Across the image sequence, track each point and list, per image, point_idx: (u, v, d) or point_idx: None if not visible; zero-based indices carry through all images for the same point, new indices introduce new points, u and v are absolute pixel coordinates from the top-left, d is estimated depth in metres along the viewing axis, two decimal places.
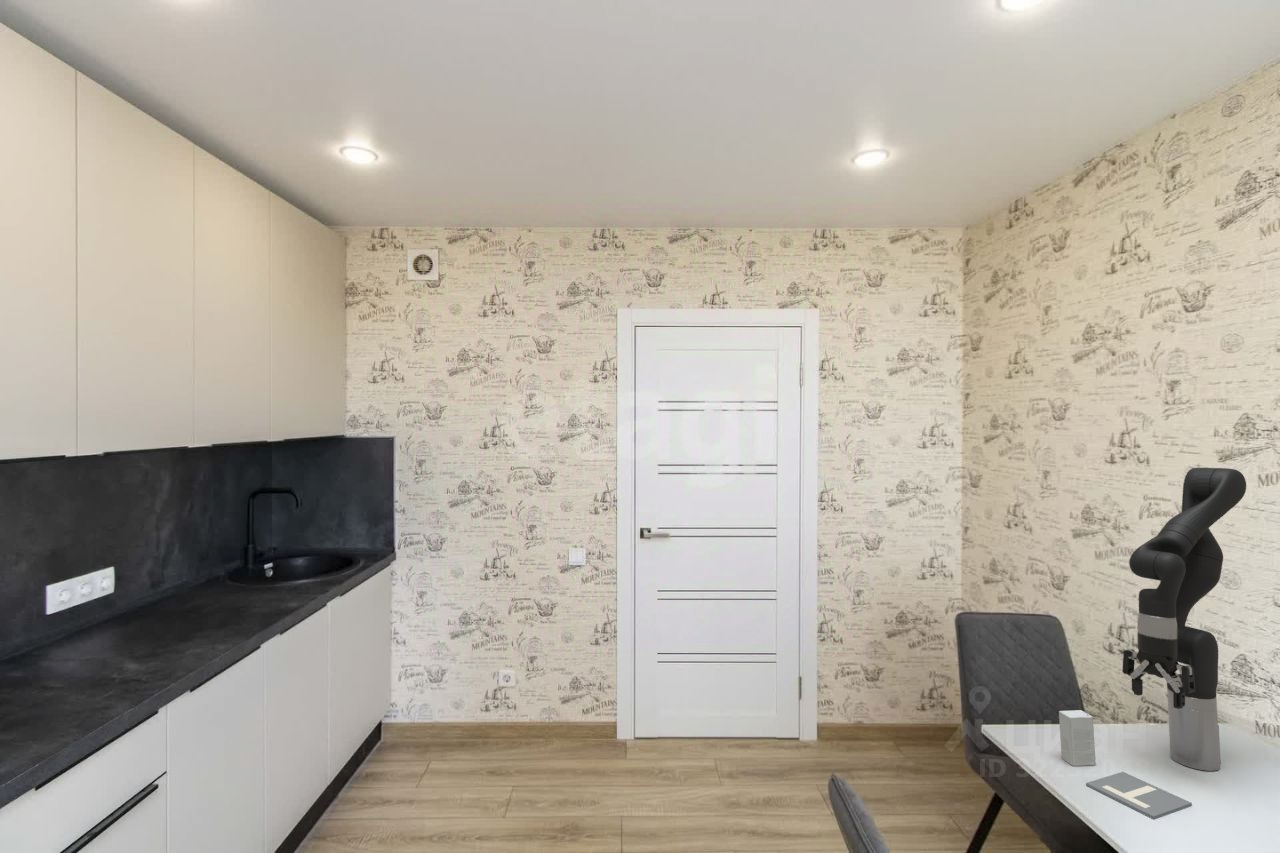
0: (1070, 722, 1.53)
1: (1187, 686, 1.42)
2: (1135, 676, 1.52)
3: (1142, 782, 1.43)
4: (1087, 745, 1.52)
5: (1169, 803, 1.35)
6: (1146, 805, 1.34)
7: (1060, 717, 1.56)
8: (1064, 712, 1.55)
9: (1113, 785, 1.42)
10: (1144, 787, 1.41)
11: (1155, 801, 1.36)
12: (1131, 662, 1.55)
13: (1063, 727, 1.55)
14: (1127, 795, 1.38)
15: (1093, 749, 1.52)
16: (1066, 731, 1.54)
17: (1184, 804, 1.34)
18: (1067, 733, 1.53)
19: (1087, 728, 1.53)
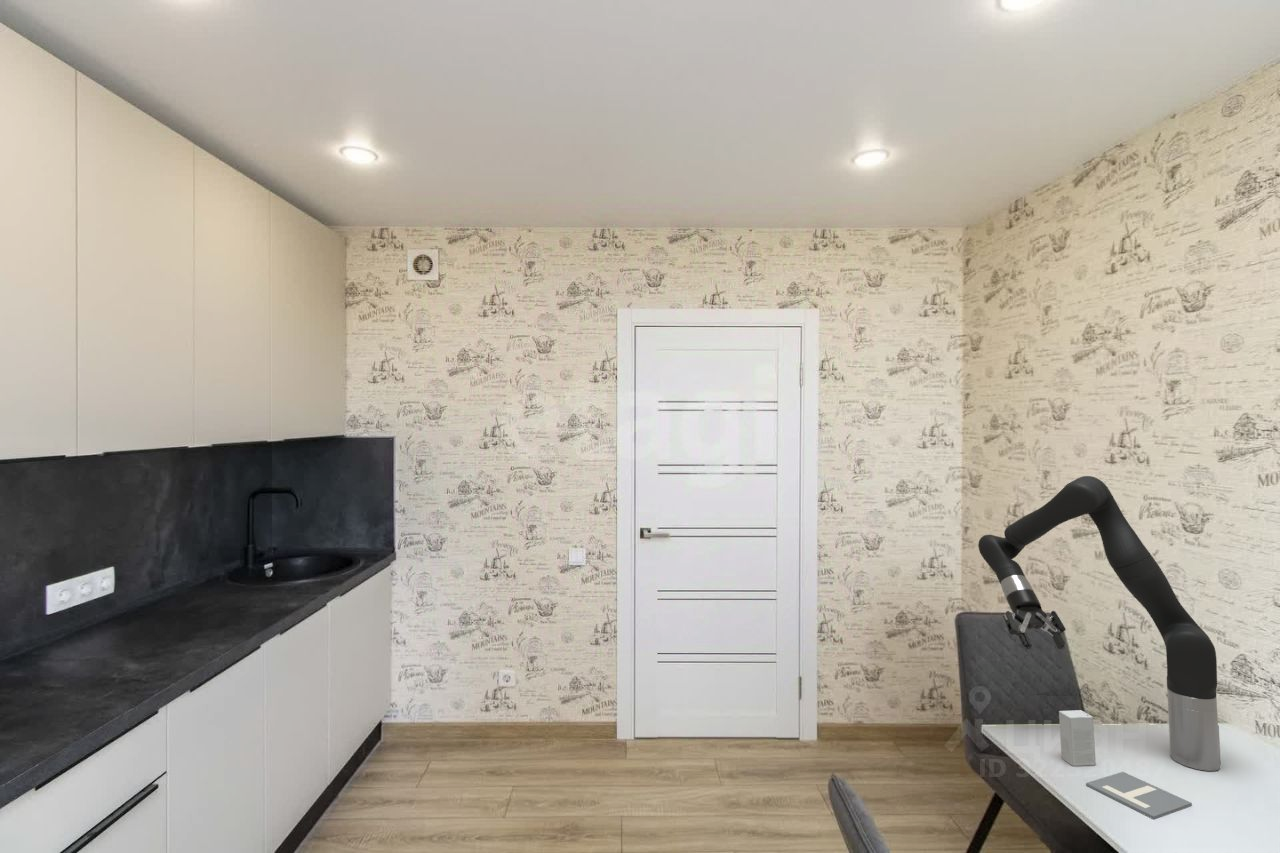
0: (1070, 722, 1.53)
1: None
2: None
3: (1142, 782, 1.43)
4: (1087, 745, 1.52)
5: (1169, 803, 1.35)
6: (1146, 805, 1.34)
7: (1060, 717, 1.56)
8: (1064, 712, 1.55)
9: (1113, 785, 1.42)
10: (1144, 787, 1.41)
11: (1155, 801, 1.36)
12: (1054, 622, 1.71)
13: (1063, 727, 1.55)
14: (1127, 795, 1.38)
15: (1093, 749, 1.52)
16: (1066, 731, 1.54)
17: (1184, 804, 1.34)
18: (1067, 733, 1.53)
19: (1087, 728, 1.53)
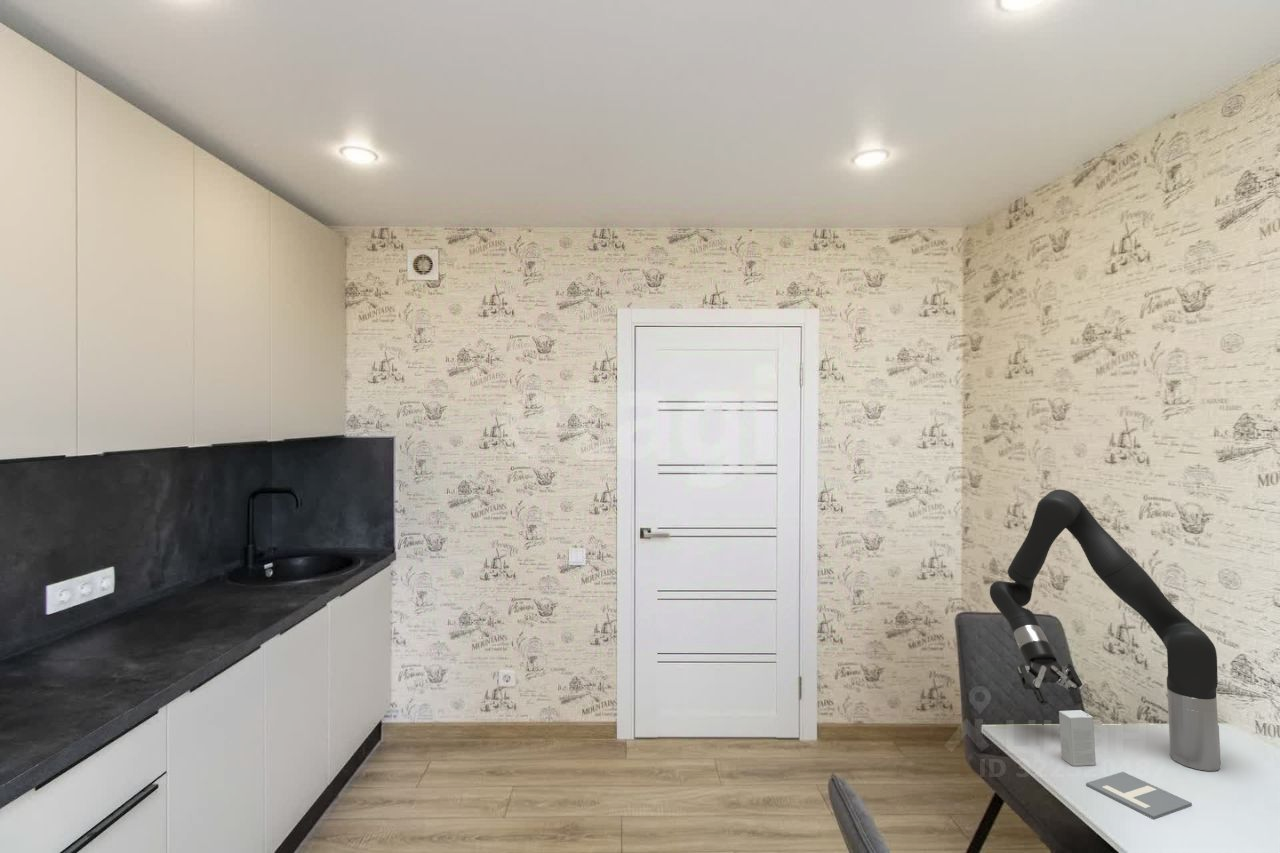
0: (1070, 722, 1.53)
1: None
2: None
3: (1142, 782, 1.43)
4: (1087, 745, 1.52)
5: (1169, 803, 1.35)
6: (1146, 805, 1.34)
7: (1060, 717, 1.56)
8: (1064, 712, 1.55)
9: (1113, 785, 1.42)
10: (1144, 787, 1.41)
11: (1155, 801, 1.36)
12: (1070, 676, 1.65)
13: (1063, 727, 1.55)
14: (1127, 795, 1.38)
15: (1093, 749, 1.52)
16: (1066, 731, 1.54)
17: (1184, 804, 1.34)
18: (1067, 733, 1.53)
19: (1087, 728, 1.53)
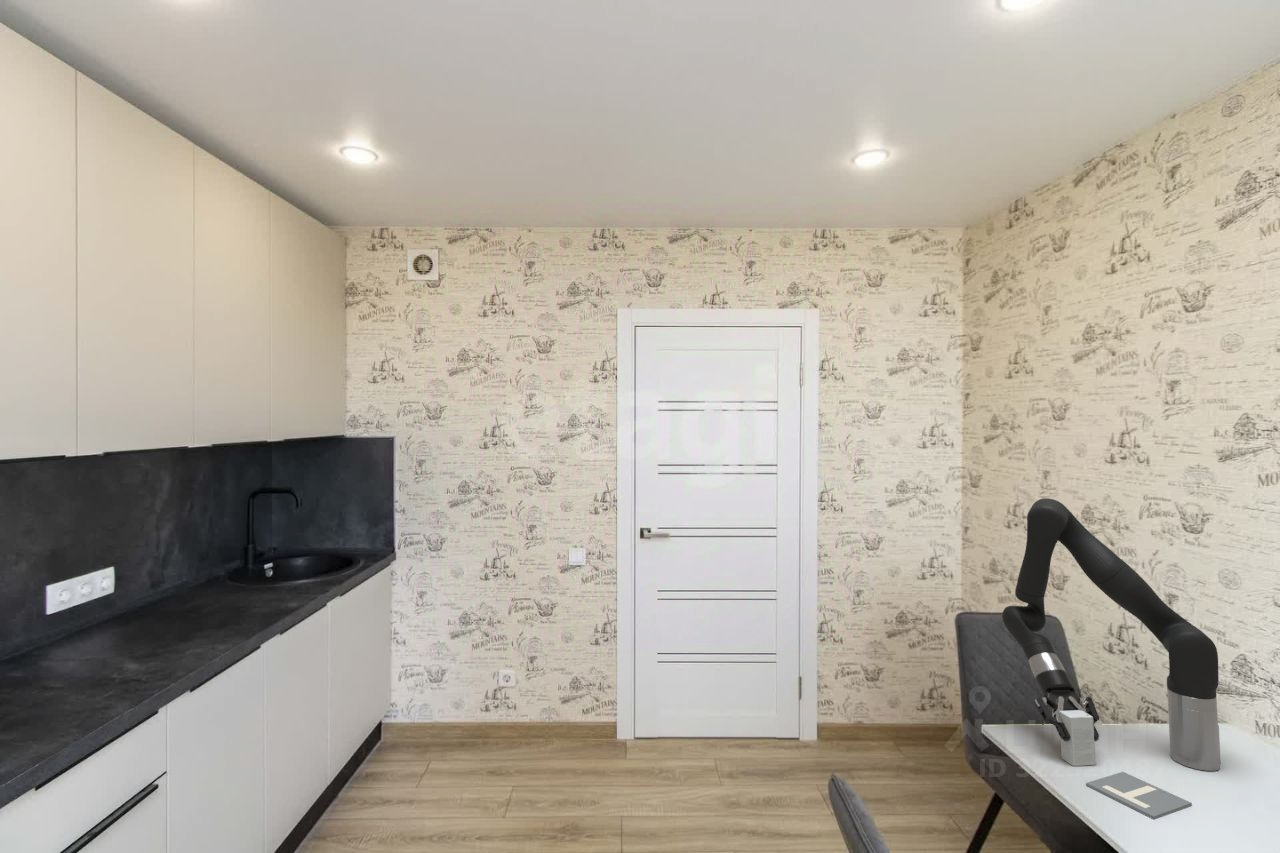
0: (1070, 722, 1.53)
1: None
2: None
3: (1142, 782, 1.43)
4: (1087, 744, 1.52)
5: (1169, 803, 1.35)
6: (1146, 805, 1.34)
7: None
8: (1064, 712, 1.55)
9: (1113, 785, 1.42)
10: (1144, 787, 1.41)
11: (1155, 801, 1.36)
12: (1088, 709, 1.58)
13: None
14: (1127, 795, 1.38)
15: (1093, 749, 1.52)
16: (1067, 731, 1.54)
17: (1184, 804, 1.34)
18: None
19: (1087, 728, 1.52)
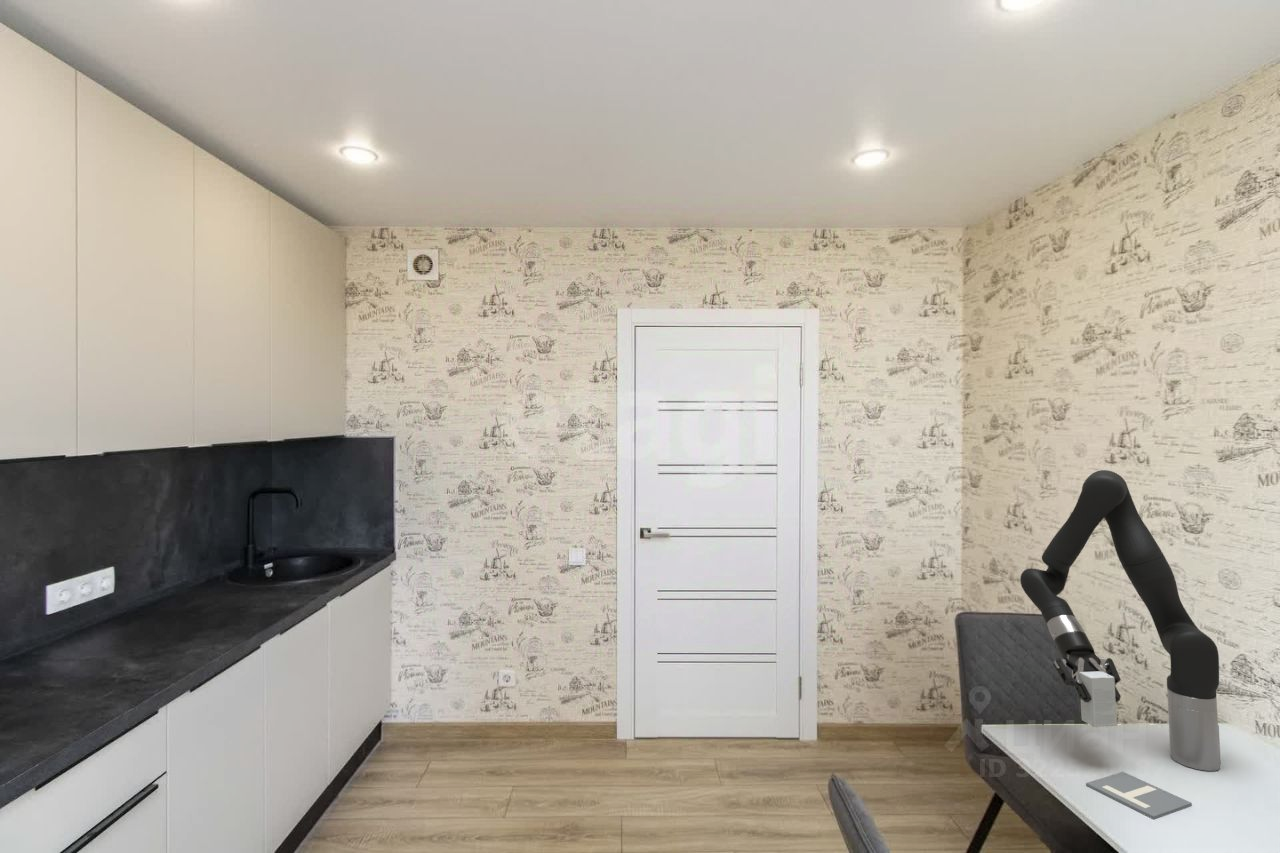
0: (1091, 683, 1.50)
1: None
2: None
3: (1142, 782, 1.43)
4: (1108, 705, 1.50)
5: (1169, 803, 1.35)
6: (1146, 805, 1.34)
7: None
8: (1084, 673, 1.53)
9: (1113, 785, 1.42)
10: (1144, 787, 1.41)
11: (1155, 801, 1.36)
12: (1109, 671, 1.55)
13: None
14: (1127, 795, 1.38)
15: (1115, 710, 1.50)
16: None
17: (1184, 804, 1.34)
18: None
19: (1108, 689, 1.50)
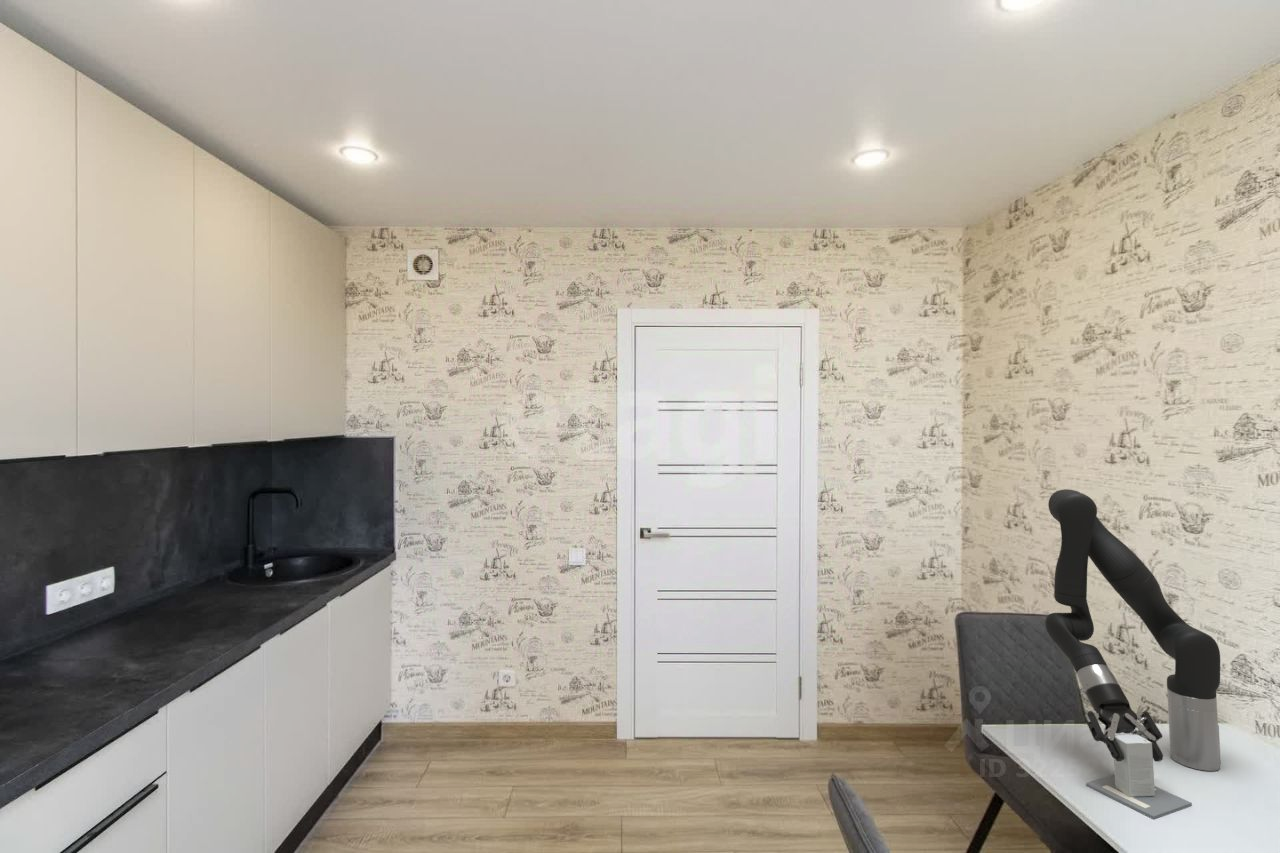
0: (1126, 748, 1.38)
1: None
2: None
3: None
4: (1145, 773, 1.38)
5: (1169, 803, 1.35)
6: (1146, 805, 1.34)
7: None
8: (1119, 737, 1.41)
9: (1113, 785, 1.42)
10: None
11: (1155, 801, 1.36)
12: (1147, 726, 1.43)
13: None
14: None
15: (1152, 778, 1.38)
16: None
17: (1184, 804, 1.34)
18: (1123, 761, 1.39)
19: (1145, 755, 1.38)
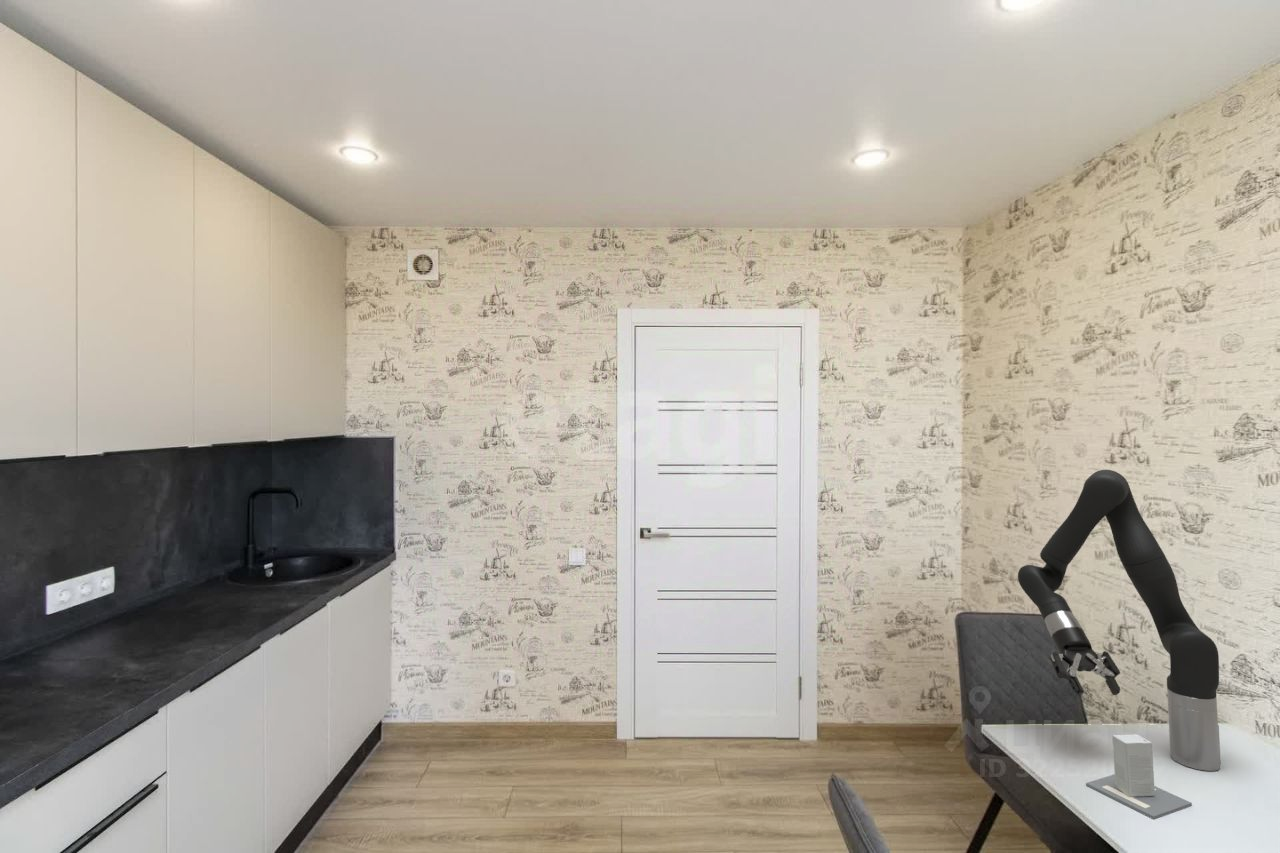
0: (1126, 748, 1.38)
1: None
2: None
3: None
4: (1145, 773, 1.38)
5: (1169, 803, 1.35)
6: (1146, 805, 1.34)
7: (1114, 742, 1.41)
8: (1118, 736, 1.41)
9: (1113, 785, 1.42)
10: None
11: (1155, 801, 1.36)
12: (1107, 664, 1.56)
13: (1118, 753, 1.40)
14: None
15: (1152, 778, 1.38)
16: (1122, 758, 1.39)
17: (1184, 804, 1.34)
18: (1123, 760, 1.39)
19: (1145, 755, 1.38)
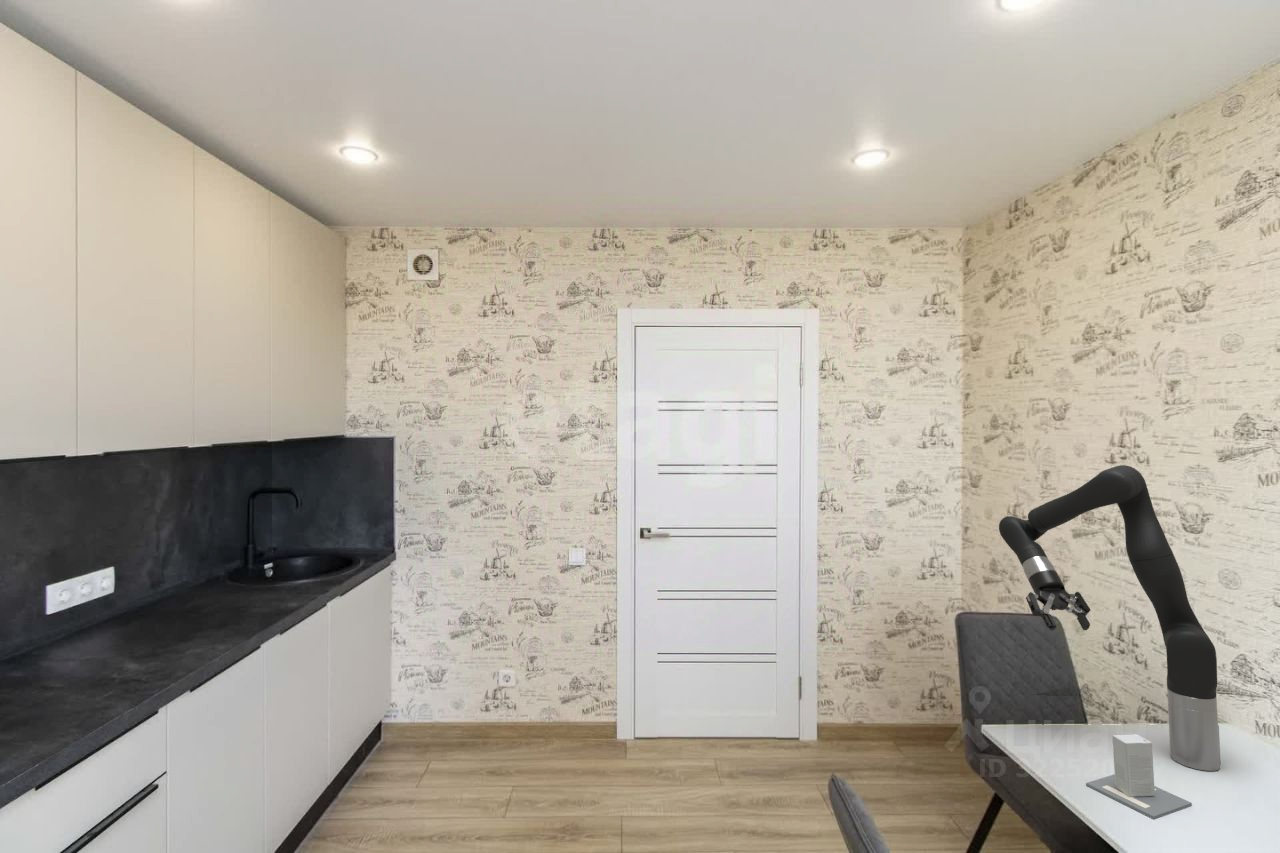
0: (1126, 748, 1.38)
1: None
2: None
3: None
4: (1145, 773, 1.38)
5: (1169, 803, 1.35)
6: (1146, 805, 1.34)
7: (1114, 742, 1.41)
8: (1118, 736, 1.41)
9: (1113, 785, 1.42)
10: None
11: (1155, 801, 1.36)
12: (1078, 603, 1.68)
13: (1118, 753, 1.40)
14: None
15: (1152, 778, 1.38)
16: (1122, 758, 1.39)
17: (1184, 804, 1.34)
18: (1123, 760, 1.39)
19: (1145, 755, 1.38)
